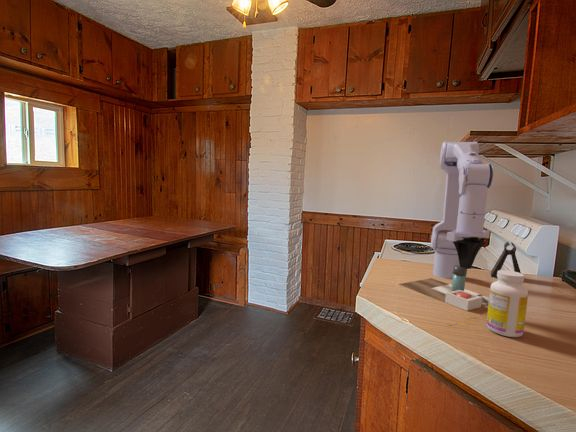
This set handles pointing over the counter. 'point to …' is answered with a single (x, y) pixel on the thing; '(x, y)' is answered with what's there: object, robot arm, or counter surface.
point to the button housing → (463, 300)
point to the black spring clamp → (502, 260)
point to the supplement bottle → (507, 304)
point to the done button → (464, 295)
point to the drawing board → (438, 290)
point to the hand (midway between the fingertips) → (465, 267)
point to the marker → (458, 278)
